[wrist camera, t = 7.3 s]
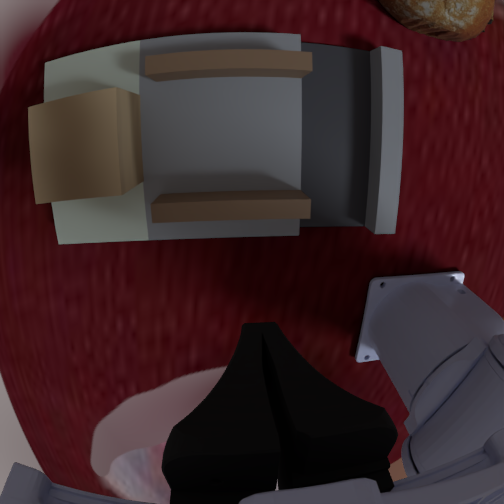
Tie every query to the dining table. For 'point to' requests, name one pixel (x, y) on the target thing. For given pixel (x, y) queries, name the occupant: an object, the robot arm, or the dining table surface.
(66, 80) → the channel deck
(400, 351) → the robot arm
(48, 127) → the wooden block
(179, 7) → the dining table surface
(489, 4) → the bread roll
